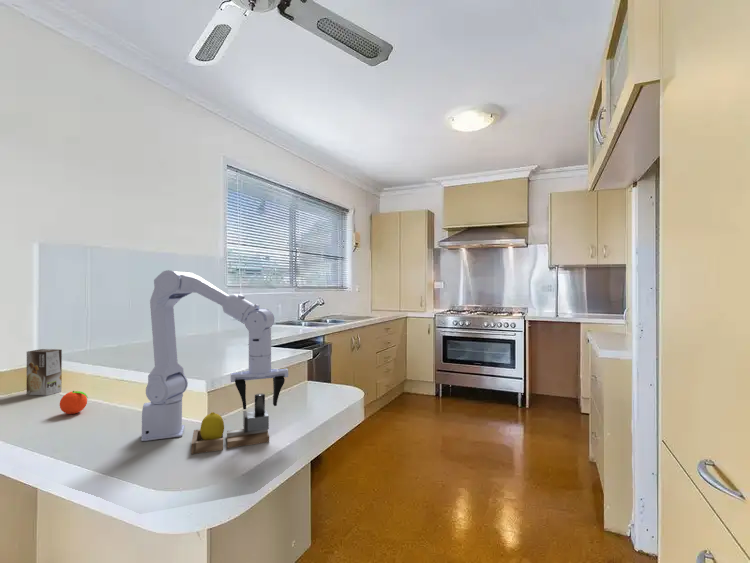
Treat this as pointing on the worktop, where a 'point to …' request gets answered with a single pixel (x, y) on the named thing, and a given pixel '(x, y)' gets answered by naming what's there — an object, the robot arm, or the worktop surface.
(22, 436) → the worktop surface
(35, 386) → the coffee box
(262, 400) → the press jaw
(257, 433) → the press bed
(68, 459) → the worktop surface
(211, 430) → the lemon
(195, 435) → the lemon cradle
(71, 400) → the clementine
